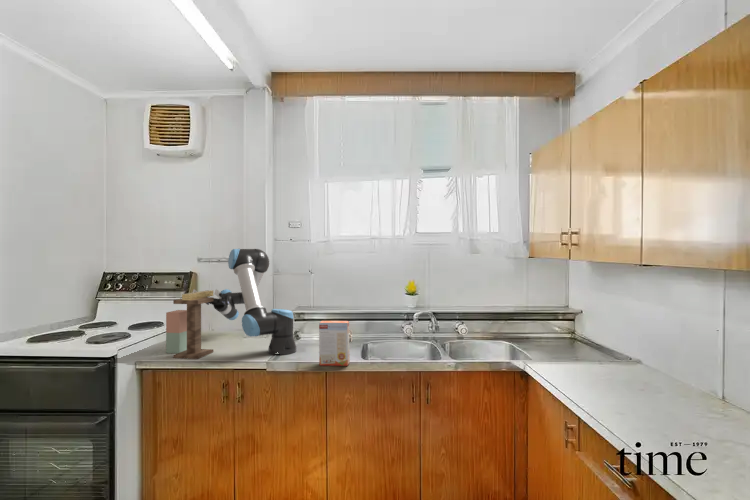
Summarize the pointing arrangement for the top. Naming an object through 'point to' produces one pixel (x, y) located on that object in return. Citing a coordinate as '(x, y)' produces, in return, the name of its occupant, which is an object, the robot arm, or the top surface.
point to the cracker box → (334, 343)
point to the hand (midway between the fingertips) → (204, 291)
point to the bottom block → (176, 342)
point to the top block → (176, 321)
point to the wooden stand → (193, 329)
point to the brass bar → (197, 295)
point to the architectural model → (350, 335)
